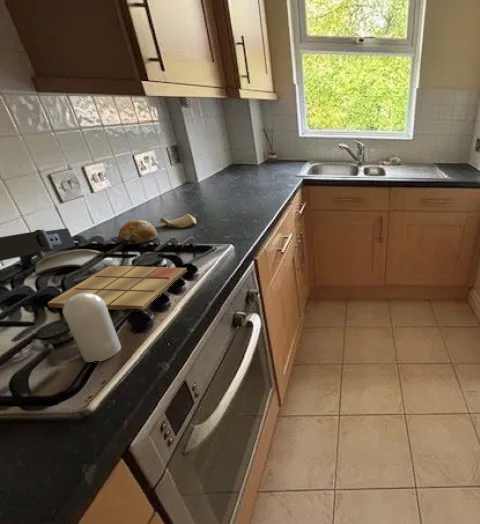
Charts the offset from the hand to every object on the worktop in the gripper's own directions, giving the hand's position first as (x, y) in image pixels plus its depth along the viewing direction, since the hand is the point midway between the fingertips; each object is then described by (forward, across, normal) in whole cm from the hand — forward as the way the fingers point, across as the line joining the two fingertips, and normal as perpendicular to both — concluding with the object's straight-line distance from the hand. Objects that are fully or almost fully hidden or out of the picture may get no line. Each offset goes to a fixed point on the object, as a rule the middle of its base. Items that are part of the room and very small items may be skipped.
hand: (20, 249), depth 47 cm
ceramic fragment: (+43, -27, -5) cm, 51 cm away
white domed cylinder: (+7, -1, -20) cm, 21 cm away
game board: (+29, -8, -13) cm, 33 cm away
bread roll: (+60, -18, -3) cm, 63 cm away
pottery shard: (+74, -10, -1) cm, 75 cm away
